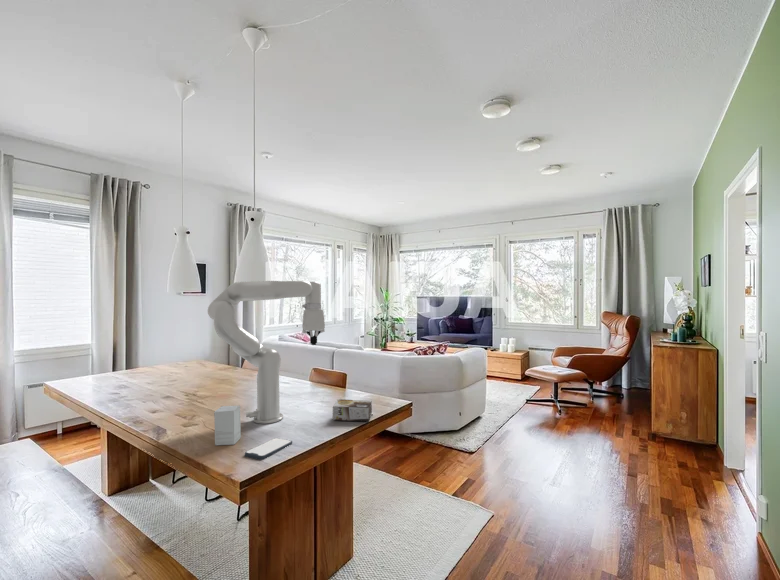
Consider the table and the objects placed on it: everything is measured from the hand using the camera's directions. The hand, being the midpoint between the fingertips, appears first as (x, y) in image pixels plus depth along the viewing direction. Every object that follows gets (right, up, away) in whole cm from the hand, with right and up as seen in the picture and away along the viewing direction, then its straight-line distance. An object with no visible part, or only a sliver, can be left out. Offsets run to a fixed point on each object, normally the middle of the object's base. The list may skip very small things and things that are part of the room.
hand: (313, 344), depth 184 cm
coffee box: (+12, -27, -15) cm, 33 cm away
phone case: (-6, -31, -48) cm, 58 cm away
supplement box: (-24, -31, -40) cm, 56 cm away
